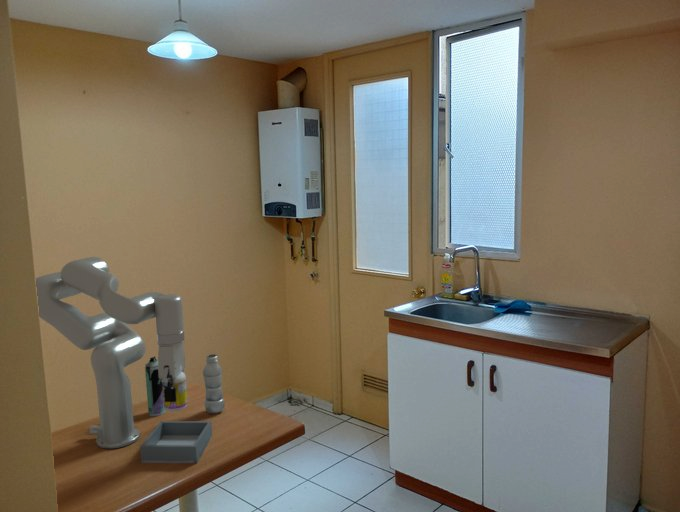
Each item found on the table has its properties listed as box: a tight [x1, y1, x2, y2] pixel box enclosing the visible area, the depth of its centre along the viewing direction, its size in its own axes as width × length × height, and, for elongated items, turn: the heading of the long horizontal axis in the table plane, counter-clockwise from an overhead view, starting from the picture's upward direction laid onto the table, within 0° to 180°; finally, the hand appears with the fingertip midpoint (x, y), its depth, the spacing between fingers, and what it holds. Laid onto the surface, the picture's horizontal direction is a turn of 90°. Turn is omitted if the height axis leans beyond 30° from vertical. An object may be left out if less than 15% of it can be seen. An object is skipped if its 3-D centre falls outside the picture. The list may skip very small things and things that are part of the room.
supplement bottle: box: [163, 366, 188, 413], centre depth 162 cm, size 7×7×13 cm
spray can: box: [144, 356, 166, 417], centre depth 189 cm, size 6×6×20 cm
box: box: [139, 420, 213, 464], centre depth 165 cm, size 16×16×5 cm
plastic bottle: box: [202, 353, 226, 414], centre depth 189 cm, size 6×7×20 cm
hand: (175, 395), depth 162 cm, fingers closed on supplement bottle, 6 cm apart
